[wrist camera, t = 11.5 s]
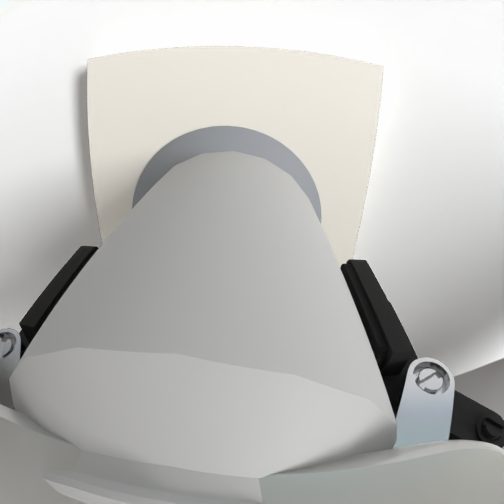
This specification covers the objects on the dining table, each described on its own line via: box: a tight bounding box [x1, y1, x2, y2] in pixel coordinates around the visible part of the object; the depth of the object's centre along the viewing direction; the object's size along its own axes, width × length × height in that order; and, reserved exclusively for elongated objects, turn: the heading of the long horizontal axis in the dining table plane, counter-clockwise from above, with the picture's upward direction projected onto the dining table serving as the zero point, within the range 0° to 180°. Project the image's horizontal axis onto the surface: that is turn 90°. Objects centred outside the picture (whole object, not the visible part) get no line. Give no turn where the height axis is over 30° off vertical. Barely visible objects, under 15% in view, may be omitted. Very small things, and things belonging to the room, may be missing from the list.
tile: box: [87, 46, 384, 267], centre depth 15 cm, size 13×16×2 cm
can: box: [9, 151, 397, 504], centre depth 8 cm, size 8×8×12 cm
